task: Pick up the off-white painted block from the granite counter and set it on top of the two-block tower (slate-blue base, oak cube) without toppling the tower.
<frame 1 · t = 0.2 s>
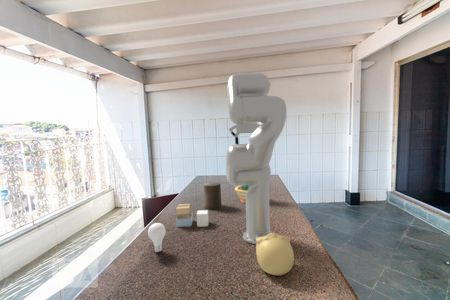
hand: (247, 144, 115), 36 cm above the granite counter, tool pointing down, fingers open, 9 cm apart
lightbulb: (158, 252, 87), on the granite counter
pillar candle: (213, 207, 134), on the granite counter
tower mid: (184, 216, 112), point 4 cm above the granite counter, touching tower base
pale yellow rounded piece: (275, 268, 74), on the granite counter
tower base: (184, 224, 112), on the granite counter, touching tower mid
white block: (203, 224, 110), on the granite counter
potted cactus: (247, 200, 142), on the granite counter
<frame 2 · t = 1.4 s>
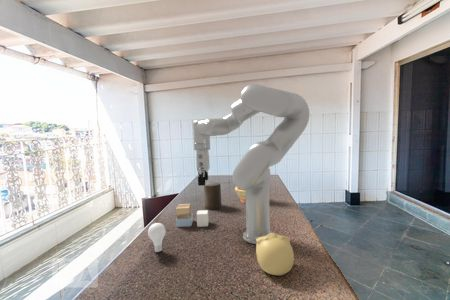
hand: (203, 182, 109), 20 cm above the granite counter, tool pointing down, fingers open, 9 cm apart
nothing on the granite counter moved.
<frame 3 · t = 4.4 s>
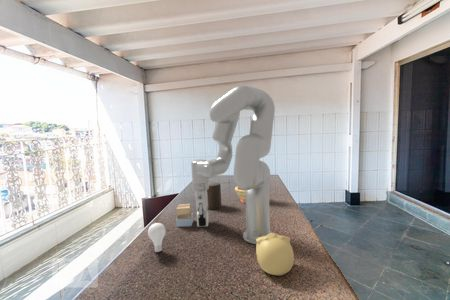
hand: (202, 222, 110), 1 cm above the granite counter, tool pointing down, fingers closed on white block, 5 cm apart
white block: (203, 224, 110), on the granite counter, touching gripper
everything else where it was.
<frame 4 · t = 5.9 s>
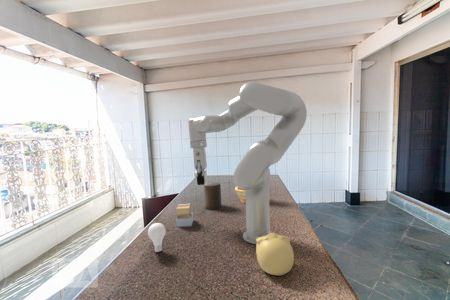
hand: (201, 182, 108), 20 cm above the granite counter, tool pointing down, fingers closed on white block, 5 cm apart
white block: (201, 184, 108), point 19 cm above the granite counter, touching gripper
everything else where it was.
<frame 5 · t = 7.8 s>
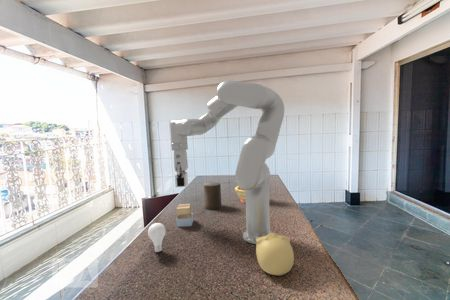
hand: (181, 184, 110), 19 cm above the granite counter, tool pointing down, fingers closed on white block, 5 cm apart
white block: (181, 185, 110), point 19 cm above the granite counter, touching gripper
everything else where it was.
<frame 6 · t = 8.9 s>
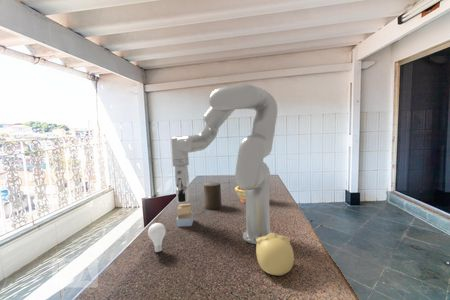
hand: (183, 199, 111), 12 cm above the granite counter, tool pointing down, fingers closed on white block, 5 cm apart
white block: (183, 200, 111), point 11 cm above the granite counter, touching gripper
everything else where it was.
when the fingers open (11 cm above the granite counter, at t = 10.1 s): white block drops 1 cm, resting on tower mid.
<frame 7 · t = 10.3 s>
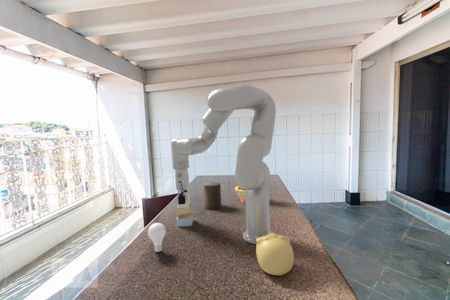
hand: (183, 201, 111), 11 cm above the granite counter, tool pointing down, fingers open, 7 cm apart
tower mid: (185, 215, 112), point 4 cm above the granite counter, touching tower base, white block
white block: (184, 205, 111), point 9 cm above the granite counter, touching tower mid
everything else where it was.
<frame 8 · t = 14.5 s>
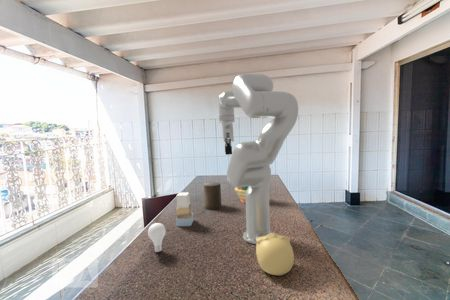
hand: (228, 153, 117), 32 cm above the granite counter, tool pointing down, fingers open, 9 cm apart
nothing on the granite counter moved.
at the end: white block 0.5 cm off-centre on the tower base, point 9.0 cm above the tower base's base; tower mid tilted 0°; white block tilted 0° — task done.
